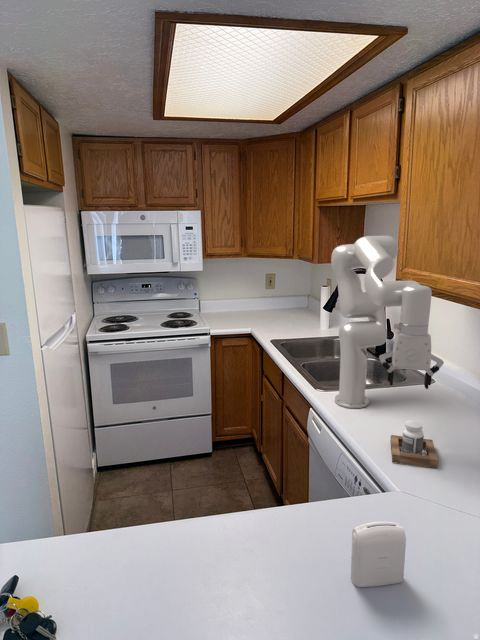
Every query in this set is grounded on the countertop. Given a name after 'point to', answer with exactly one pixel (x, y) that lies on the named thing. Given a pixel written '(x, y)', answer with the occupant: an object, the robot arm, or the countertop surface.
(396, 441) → the walnut dock
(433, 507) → the countertop surface
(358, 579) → the photo printer
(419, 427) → the pill bottle
